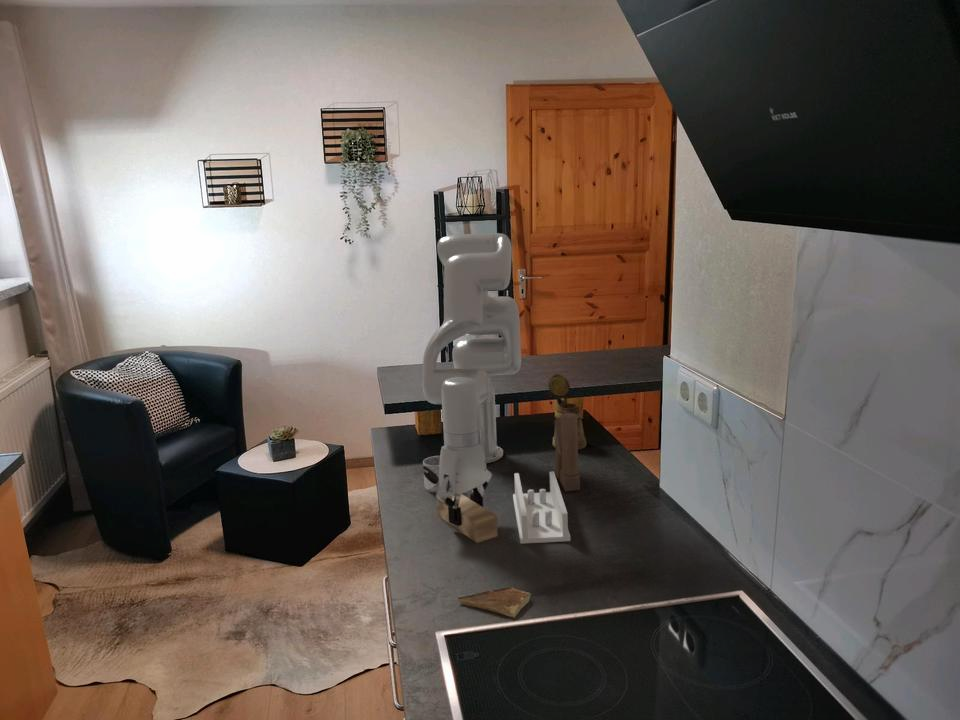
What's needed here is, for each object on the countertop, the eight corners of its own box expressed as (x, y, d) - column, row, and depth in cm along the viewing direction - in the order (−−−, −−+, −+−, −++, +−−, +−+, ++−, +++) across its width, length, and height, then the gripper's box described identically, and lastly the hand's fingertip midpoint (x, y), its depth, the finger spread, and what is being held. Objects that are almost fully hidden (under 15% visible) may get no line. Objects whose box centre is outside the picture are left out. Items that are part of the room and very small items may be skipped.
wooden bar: (437, 515, 163) (436, 496, 162) (457, 509, 166) (456, 490, 165) (477, 543, 150) (476, 522, 149) (497, 536, 152) (496, 515, 151)
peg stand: (570, 541, 149) (570, 513, 148) (520, 543, 149) (519, 515, 147) (556, 495, 170) (556, 471, 169) (512, 498, 170) (512, 473, 169)
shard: (457, 605, 129) (457, 596, 128) (480, 584, 135) (479, 575, 135) (513, 621, 124) (513, 612, 123) (533, 599, 130) (533, 589, 129)
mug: (419, 487, 179) (417, 461, 177) (441, 479, 183) (440, 453, 181) (443, 499, 171) (442, 472, 170) (466, 491, 175) (465, 464, 174)
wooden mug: (571, 432, 212) (570, 371, 208) (591, 448, 199) (590, 383, 195) (542, 436, 210) (540, 374, 205) (560, 452, 197) (558, 387, 193)
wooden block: (569, 473, 183) (568, 403, 179) (580, 490, 173) (579, 416, 168) (555, 474, 183) (553, 404, 178) (564, 492, 172) (563, 417, 168)
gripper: (478, 423, 162) (481, 500, 166) (418, 445, 150) (424, 527, 154) (503, 429, 157) (507, 509, 161) (444, 452, 145) (449, 538, 149)
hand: (466, 517), depth 157 cm, fingers closed on wooden bar, 5 cm apart
